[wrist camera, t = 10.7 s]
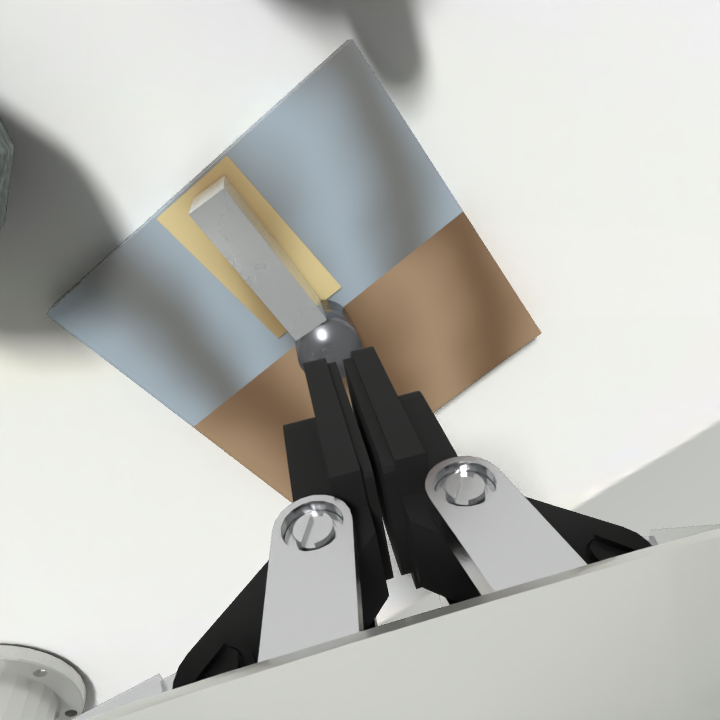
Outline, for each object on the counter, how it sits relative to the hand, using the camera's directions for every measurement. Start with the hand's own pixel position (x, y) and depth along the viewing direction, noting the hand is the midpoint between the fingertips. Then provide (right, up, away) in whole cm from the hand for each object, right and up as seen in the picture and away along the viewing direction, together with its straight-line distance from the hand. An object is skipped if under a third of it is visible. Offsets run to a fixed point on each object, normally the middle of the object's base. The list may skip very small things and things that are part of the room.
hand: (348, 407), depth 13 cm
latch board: (-2, +4, +18) cm, 18 cm away
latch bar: (-4, +5, +14) cm, 16 cm away
